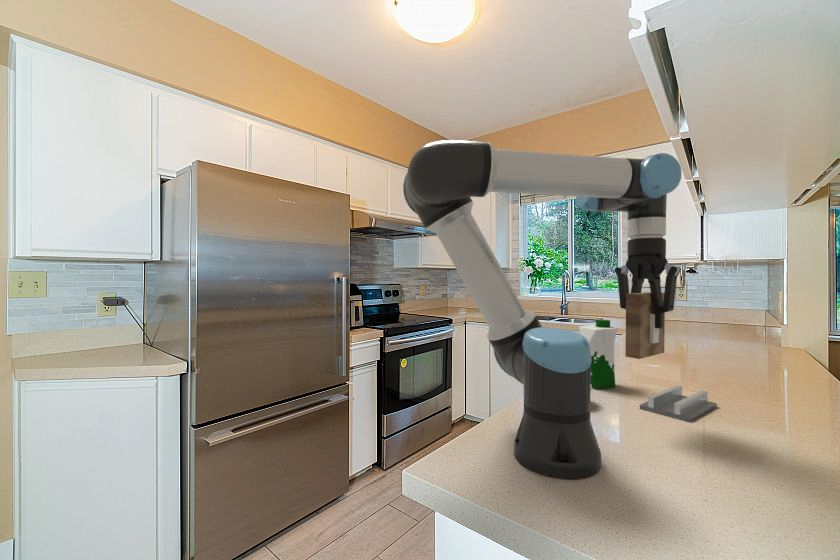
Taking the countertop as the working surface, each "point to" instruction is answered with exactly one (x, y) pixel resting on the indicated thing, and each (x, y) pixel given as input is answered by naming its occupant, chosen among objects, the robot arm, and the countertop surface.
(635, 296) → the door panel
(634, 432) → the countertop surface
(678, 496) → the countertop surface
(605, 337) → the milk carton
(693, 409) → the track
